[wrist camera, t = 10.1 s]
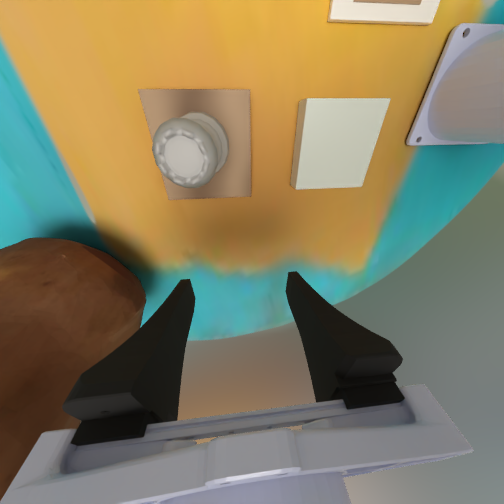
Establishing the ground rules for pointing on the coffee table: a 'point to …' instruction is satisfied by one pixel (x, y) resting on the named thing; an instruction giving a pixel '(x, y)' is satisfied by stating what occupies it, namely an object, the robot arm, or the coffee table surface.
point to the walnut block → (228, 115)
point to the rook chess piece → (190, 149)
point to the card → (383, 11)
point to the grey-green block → (335, 141)
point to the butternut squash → (55, 334)
